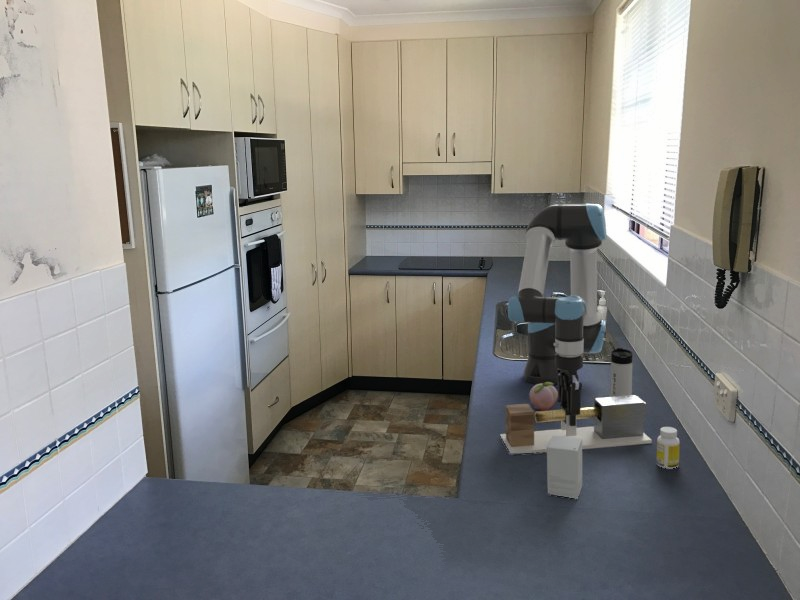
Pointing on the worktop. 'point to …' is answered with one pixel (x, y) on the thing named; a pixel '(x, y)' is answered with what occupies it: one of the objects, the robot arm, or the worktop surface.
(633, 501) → the worktop surface
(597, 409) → the brass rod
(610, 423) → the metal sleeve
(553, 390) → the decorative fruit
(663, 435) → the supplement bottle
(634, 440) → the base board
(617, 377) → the travel mug
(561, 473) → the supplement box
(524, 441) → the walnut socket
